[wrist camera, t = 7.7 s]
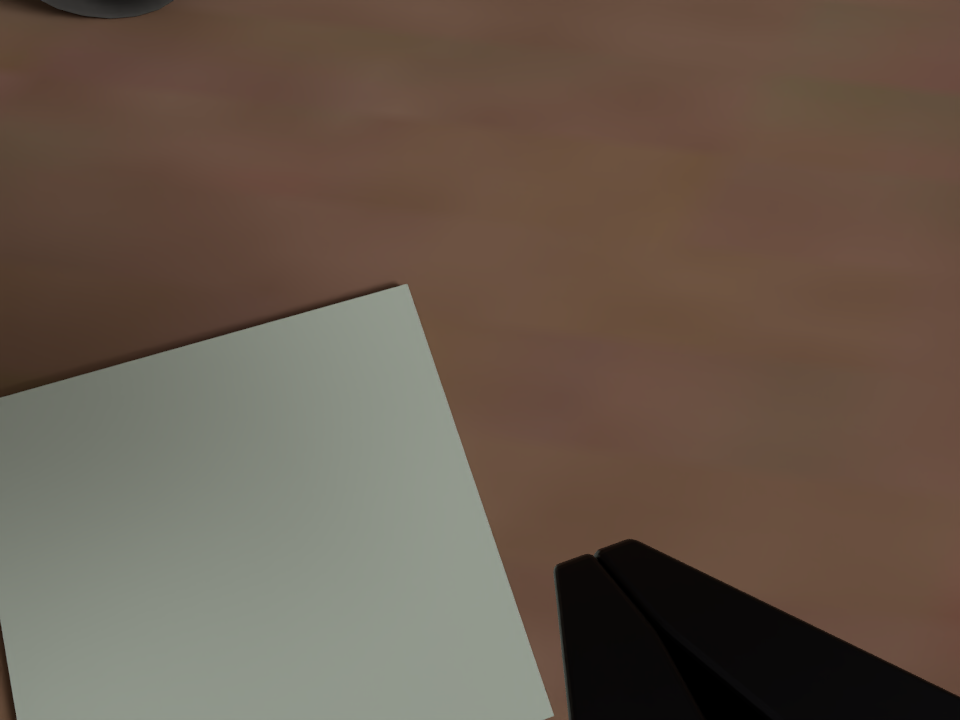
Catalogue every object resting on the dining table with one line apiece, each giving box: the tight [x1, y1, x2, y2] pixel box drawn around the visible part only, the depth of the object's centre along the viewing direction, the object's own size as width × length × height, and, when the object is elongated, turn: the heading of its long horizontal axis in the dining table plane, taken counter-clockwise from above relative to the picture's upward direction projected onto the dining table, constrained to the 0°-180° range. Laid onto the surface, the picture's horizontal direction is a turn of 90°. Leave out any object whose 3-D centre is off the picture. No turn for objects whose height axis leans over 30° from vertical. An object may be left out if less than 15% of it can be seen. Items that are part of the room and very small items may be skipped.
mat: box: [0, 284, 554, 720], centre depth 20 cm, size 11×11×1 cm
